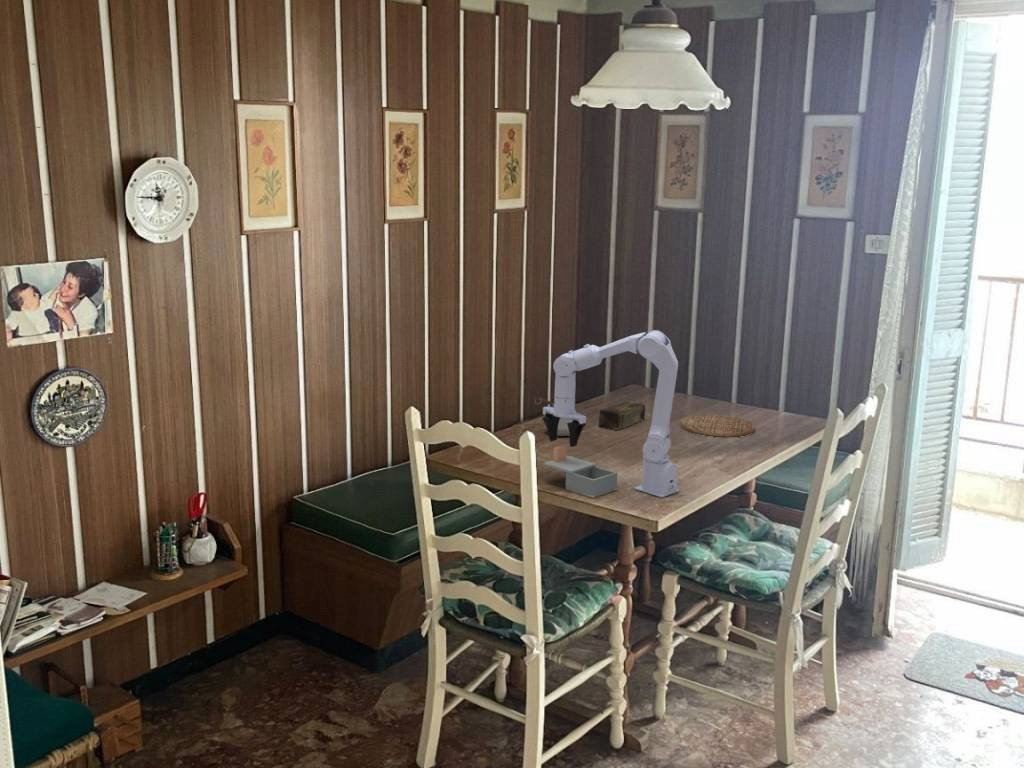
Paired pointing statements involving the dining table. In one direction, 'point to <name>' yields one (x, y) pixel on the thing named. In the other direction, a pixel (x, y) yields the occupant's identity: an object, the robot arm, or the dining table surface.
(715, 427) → the trivet
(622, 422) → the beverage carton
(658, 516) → the dining table surface
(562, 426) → the coffee pot
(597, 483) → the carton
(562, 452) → the lid
